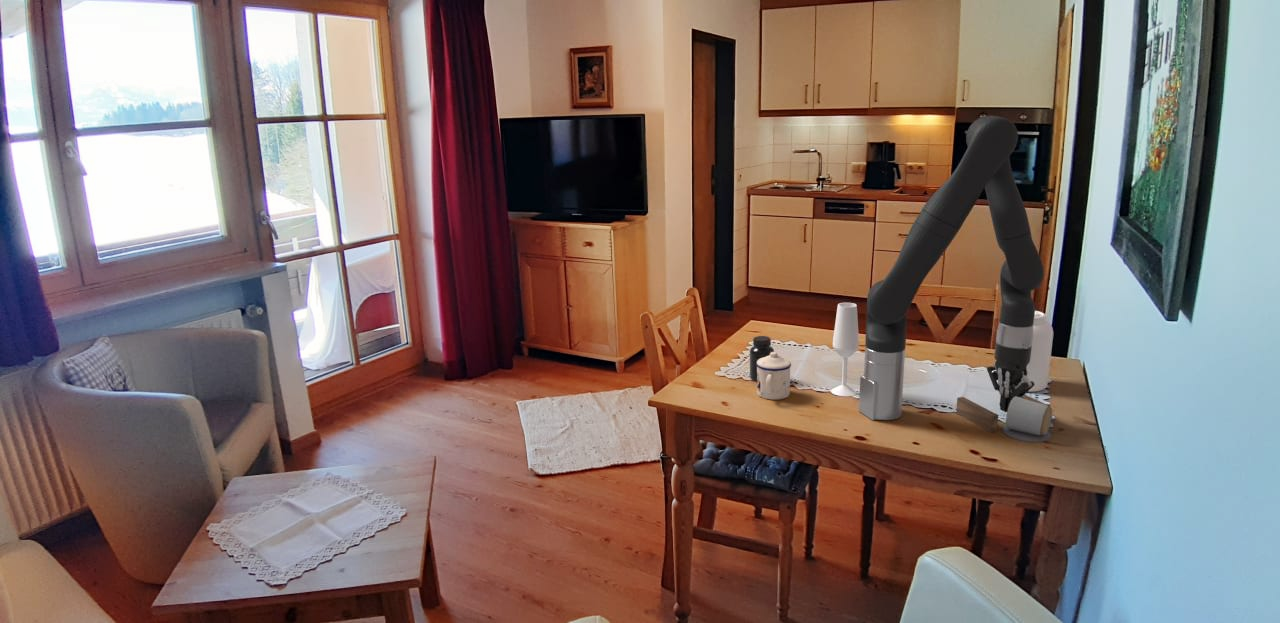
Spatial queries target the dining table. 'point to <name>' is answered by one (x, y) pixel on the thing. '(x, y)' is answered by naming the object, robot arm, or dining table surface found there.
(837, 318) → the champagne flute
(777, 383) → the teacup with lid
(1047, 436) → the dark mat
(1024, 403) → the grey cylinder
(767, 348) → the supplement bottle
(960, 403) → the holder
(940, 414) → the dining table surface
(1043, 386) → the white lidded jar
